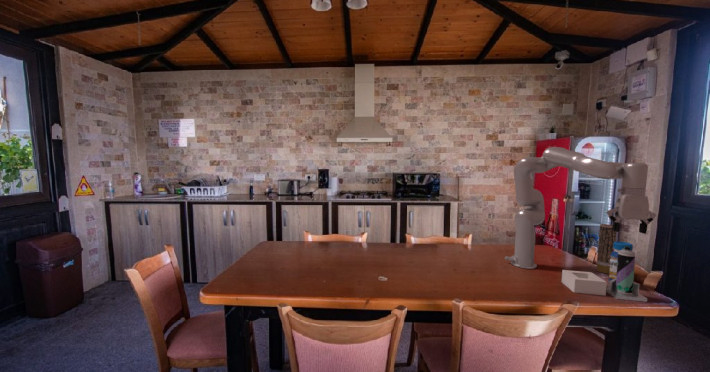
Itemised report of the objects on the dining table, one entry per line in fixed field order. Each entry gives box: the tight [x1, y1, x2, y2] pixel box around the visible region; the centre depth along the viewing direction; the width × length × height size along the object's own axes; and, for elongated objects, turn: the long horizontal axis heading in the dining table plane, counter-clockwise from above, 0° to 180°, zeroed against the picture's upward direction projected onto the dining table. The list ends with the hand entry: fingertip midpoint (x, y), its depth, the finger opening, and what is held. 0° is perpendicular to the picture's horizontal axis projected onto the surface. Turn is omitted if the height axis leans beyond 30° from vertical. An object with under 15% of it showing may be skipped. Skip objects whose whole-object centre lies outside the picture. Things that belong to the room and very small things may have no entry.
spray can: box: [616, 246, 636, 295], centre depth 128 cm, size 6×6×20 cm
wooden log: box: [595, 223, 617, 275], centre depth 157 cm, size 7×7×25 cm
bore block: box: [561, 269, 608, 296], centre depth 135 cm, size 12×12×6 cm
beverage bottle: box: [607, 241, 634, 282], centre depth 140 cm, size 8×8×20 cm
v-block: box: [606, 278, 648, 303], centre depth 130 cm, size 11×11×6 cm
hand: (628, 232), depth 127 cm, fingers open, 9 cm apart
